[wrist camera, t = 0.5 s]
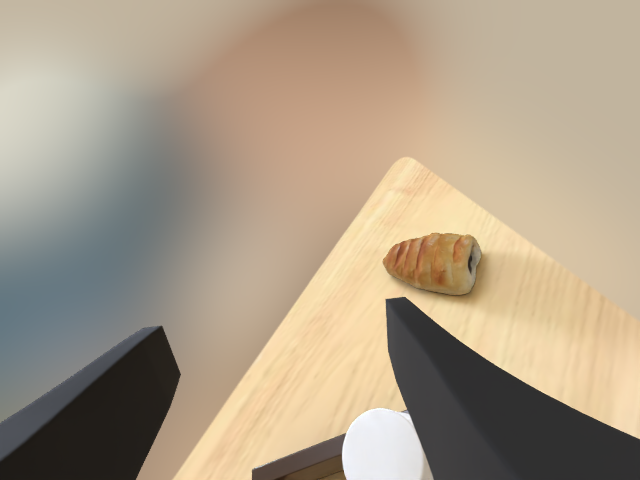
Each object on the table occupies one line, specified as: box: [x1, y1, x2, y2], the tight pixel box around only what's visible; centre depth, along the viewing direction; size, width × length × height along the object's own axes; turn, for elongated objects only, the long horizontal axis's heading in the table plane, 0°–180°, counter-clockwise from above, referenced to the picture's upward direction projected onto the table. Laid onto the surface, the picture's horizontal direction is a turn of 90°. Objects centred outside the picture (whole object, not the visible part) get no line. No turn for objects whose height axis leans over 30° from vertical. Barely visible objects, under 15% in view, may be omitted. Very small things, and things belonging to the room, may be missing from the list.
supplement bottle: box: [342, 408, 434, 480], centre depth 17 cm, size 5×5×10 cm
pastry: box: [383, 233, 481, 295], centre depth 31 cm, size 9×7×4 cm
